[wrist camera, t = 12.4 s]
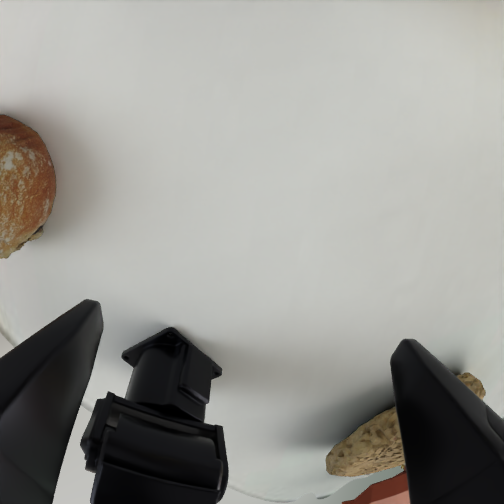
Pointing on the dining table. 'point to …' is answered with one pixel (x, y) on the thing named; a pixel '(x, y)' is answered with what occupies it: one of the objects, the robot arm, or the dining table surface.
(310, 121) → the dining table surface
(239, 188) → the dining table surface
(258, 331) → the dining table surface
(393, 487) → the decorative bird
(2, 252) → the bread roll
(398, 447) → the sponge
